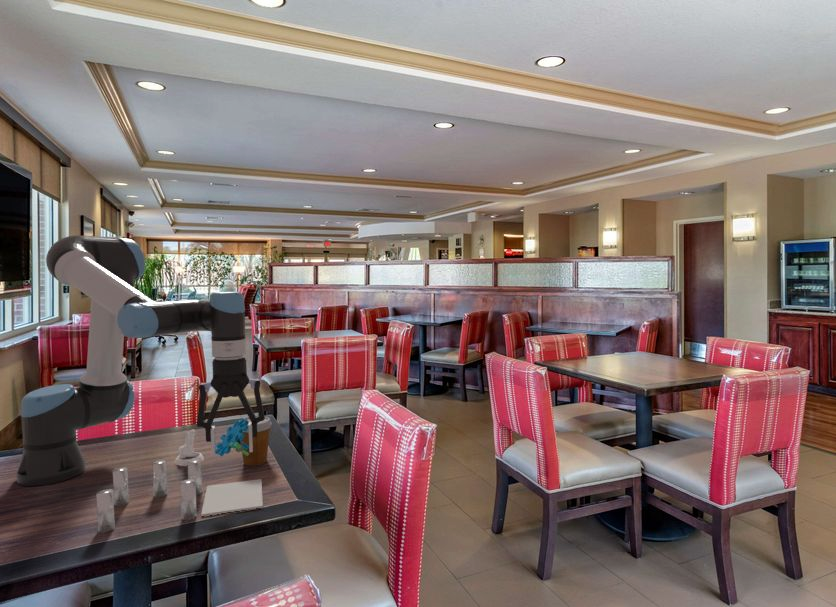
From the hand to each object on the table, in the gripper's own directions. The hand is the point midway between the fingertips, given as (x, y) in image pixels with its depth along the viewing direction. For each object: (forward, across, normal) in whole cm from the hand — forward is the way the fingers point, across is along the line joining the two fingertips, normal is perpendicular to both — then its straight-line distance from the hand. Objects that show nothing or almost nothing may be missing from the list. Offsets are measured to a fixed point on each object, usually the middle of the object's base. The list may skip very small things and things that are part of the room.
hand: (232, 452), depth 122 cm
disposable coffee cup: (+11, +5, +23) cm, 26 cm away
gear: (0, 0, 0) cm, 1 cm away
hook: (+11, -13, +30) cm, 35 cm away
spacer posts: (+11, -17, -1) cm, 20 cm away
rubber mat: (+11, 0, 0) cm, 11 cm away
